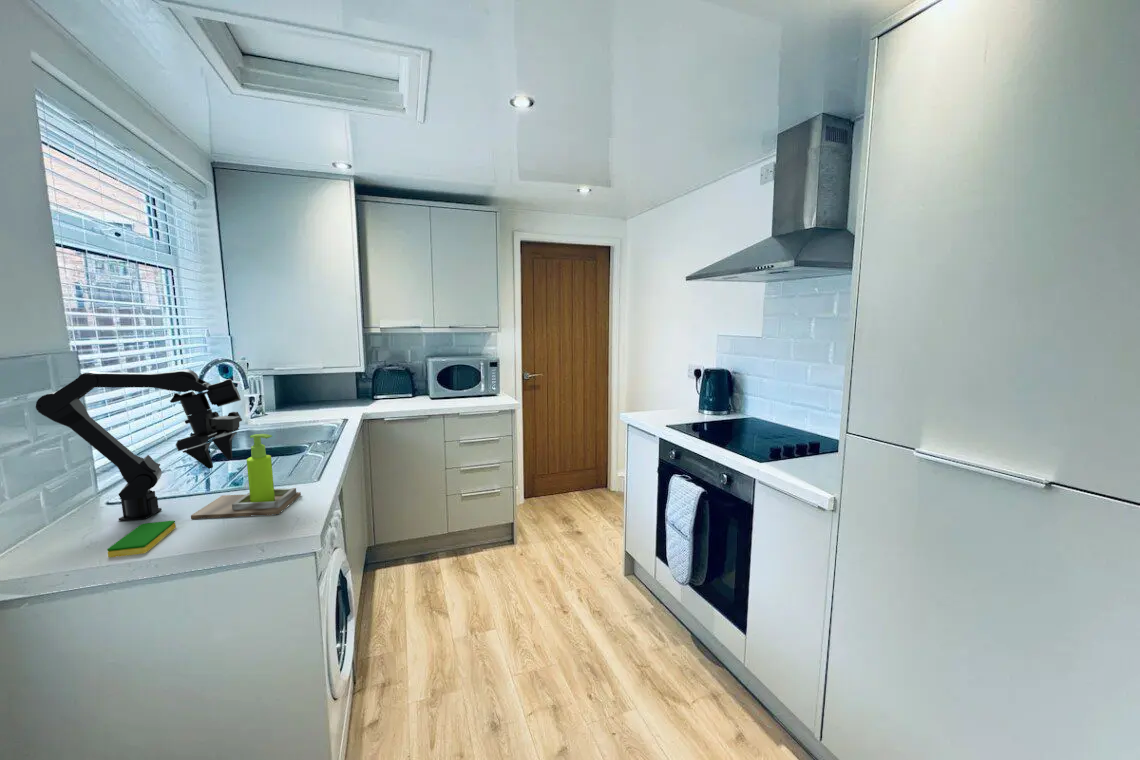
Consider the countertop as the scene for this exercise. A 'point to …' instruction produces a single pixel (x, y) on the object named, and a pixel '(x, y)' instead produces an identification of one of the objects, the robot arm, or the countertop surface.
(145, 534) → the dish sponge
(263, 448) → the soap dispenser
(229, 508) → the walnut holder board
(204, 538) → the countertop surface
